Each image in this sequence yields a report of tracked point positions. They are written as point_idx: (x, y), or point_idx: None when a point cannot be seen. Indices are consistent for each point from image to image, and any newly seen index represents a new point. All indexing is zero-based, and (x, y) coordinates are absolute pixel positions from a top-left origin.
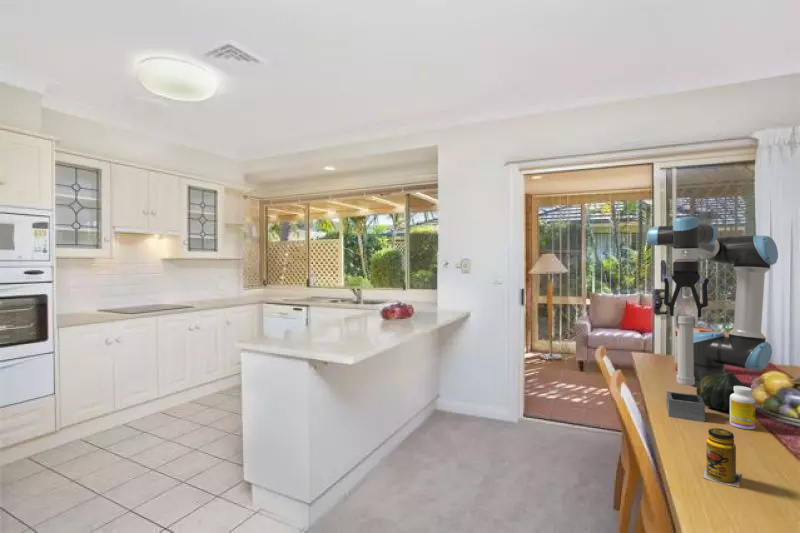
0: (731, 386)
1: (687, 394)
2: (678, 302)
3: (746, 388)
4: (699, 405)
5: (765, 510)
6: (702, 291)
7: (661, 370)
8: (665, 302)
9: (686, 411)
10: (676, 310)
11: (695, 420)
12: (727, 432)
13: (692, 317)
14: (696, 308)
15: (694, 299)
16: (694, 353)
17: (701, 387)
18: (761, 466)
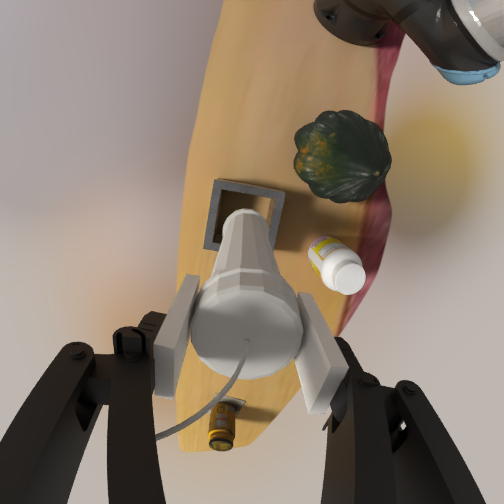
0: (357, 195)
1: (257, 193)
2: (183, 428)
3: (356, 281)
4: None
5: (239, 437)
6: (432, 497)
7: None
8: (79, 404)
9: None
10: (177, 382)
11: None
12: (227, 446)
13: (281, 367)
14: (320, 409)
15: (345, 444)
16: None
17: (301, 161)
18: (277, 381)
